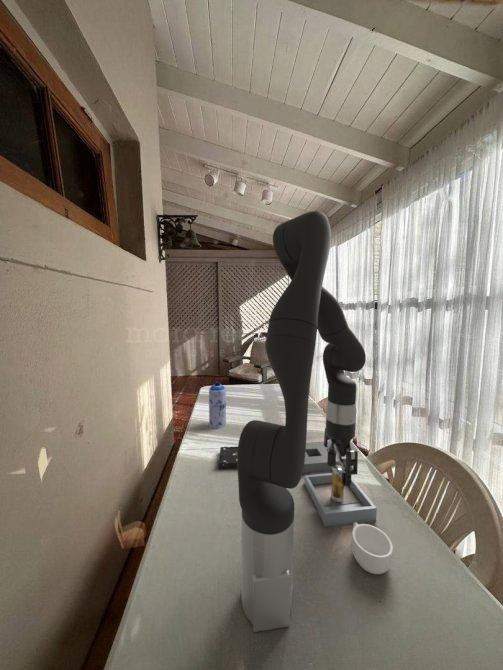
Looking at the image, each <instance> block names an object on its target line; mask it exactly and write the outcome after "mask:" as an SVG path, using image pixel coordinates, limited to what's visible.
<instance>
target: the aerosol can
mask: <svg viewBox="0 0 503 670" xmlns="http://www.w3.org/2000/svg"><path fill="white" fill-rule="evenodd" d="M208 389H209V390H208V412H209V413H208V415H209V416H208V420H209V423H208V425H209V426H208V427H209V428H211V429H215V430H221V429H223V428H225V427H226V426H227V411H226V410H227V397H226V396H227V395H226V394H227V393H226V392H227V390H226V387H225V386H224V385H222V384H221V382H220V381H219V380H218V381H215V382H214V384H213V385H211V386H210V387H209V388H208Z"/></svg>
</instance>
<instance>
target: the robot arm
mask: <svg viewBox="0 0 503 670" xmlns="http://www.w3.org/2000/svg"><path fill="white" fill-rule="evenodd" d="M331 242H332V230H331V225H330V221H329V219H328V217H327V216H326V215H325V213H323V212H322V211H320V210H311V211H308V212H305V213H302V214H300V215H298V216H296V217H293V218H291V219H289V220H287V221H285V222H282V223H281V224H278V225H277V226H276V227H275V229H274V230H273V234H272V244H273V245H272V246H273V248H274V252H275V254H276V256H277V258H278V260H279V262H280V264H281V266H282V267H283V269H284V271H285V272H286V274H287V275H288V277H289V278H290V280H291V281H290V282H289V284H288V285H287V287H286V288H285V290H284V291H283V293H282V294H281V296H280V297H279V299H278V300H277V302H276V304H275V305H274V306H273V309H272V310H271V313H270V317H269V320H268V325H267V332H266V337H265V345H264V346H265V352H266V357H267V359H268V362H269V364H270V367H271V369H272V371H273V373H274V376H275V378H276V380H277V382H278V385H279V387H280V390H281V393H282V397H283V402H284V410H285V411H284V412H285V413H284V414H285V425H282V424H278V423H273V422H268V421H264V420H258V419H256V420H255V419H254V420H250V421H249V422H247V423H246V424H245V425H244V427H243V428H242V431H241V433H240V436H239V439H238V444H237V447H238V451H237V469H236V470H237V481H238V482H237V483H238V502H239V506H240V509H241V555H240V556H241V557H240V559H241V562H240V563H241V565H240V566H241V569H240V570H241V571H240V572H241V575H240V576H241V579H240V580H241V581H240V582H241V586H240V587H241V590H240V593H241V594H240V595H241V600H240V601H241V607H242V610H243V613H244V615H245V617H246V618H247V619H248V621H249V622H250V623H251V625H252V630H253V631H252V632H254V633H257V632H263V631H269V630H275V629H282V628H286V627H290V624H291V622H290V621H291V619H290V618H291V611H292V605H293V571H294V568H293V567H294V533H295V531H294V529H295V501H294V497H293V495H292V493H291V492H290V491H289V490H290V489H291V490H292V489H295V488H296V487H297V486H298V485H299V484H300V481H301V479H302V477H303V474H304V473H303V468H304V462H305V451H306V444H307V435H308V433H307V431H308V430H307V429H308V414H309V413H308V411H309V398H310V396H309V395H310V389H311V388H310V385H311V378H312V371H313V363H314V358H315V350H316V344H317V343H316V341H317V333H318V334H319V336H320V338H321V339H322V341H323V342H325V343H327V344H326V346H325V347H324V349H323V352H322V362H323V363H322V364H323V368H324V372H325V378H326V380H327V386H328V387H327V389H328V390H327V402H326V403H327V404H326V408H325V428H324V436H323V437H324V438H323V442H324V446H325V447H327V448H326V450H327V452H328V458H327V464H328V465H329V466H334V465H336V454H337V458H338V462H339V463H341V467H342V485H343V486H344V487H350V485H351V477H352V475H358V465H359V463H358V462H359V459H358V457H359V454H358V453H359V452H358V450H357V449H352V446H351V441H352V440H353V439H354V438H355V436H356V429H357V428H356V427H357V404H356V403H357V384H356V381H354V380H353V379H351V378H350V377H348V376H347V375H346V374H345V372H348V373H355V372H356V373H357V372H359V371H361V370H362V369H363V368H364V366H365V364H366V359H367V358H366V356H367V355H366V351H365V349H364V347H363V344H362V343H361V341H359V339H358V337H356V334H355V333H354V332H353V330H352V329H350V327H349V325H348V322H347V319H346V316H345V313H344V309H343V308H342V306H341V303H340V302H339V300H338V299H337V298H336V297H335V296H334V295H333V294H332V293H331V291H329V290H328V289H327V288H325V287H324V286H323V283H324V279H325V274H326V269H327V265H328V260H329V255H330V252H331V251H330V250H331V244H332V243H331ZM327 442H328V443H327ZM341 457H344V458H345V459H342V458H341ZM345 462H346V468H345V464H344V463H345ZM288 489H289V490H288Z"/></svg>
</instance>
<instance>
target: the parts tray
mask: <svg viewBox="0 0 503 670" xmlns="http://www.w3.org/2000/svg"><path fill="white" fill-rule="evenodd" d="M303 484H304V485H305V488H306V489H307V492H308V493H309V496H310V497H311V500H312V501H313V503H314V505H315V507H314V508H315V511H316V513H317V515H318V517H319V519H320V520H321V523H322V525H323V527H324V528H326V527H327V528H329V527H336V526H343V525H353V524H354V523H357V524H364V523H369V522H376V521H377V512H378V511H377V510H378V508H377V506H376V504H374V503H373V501H372V500H371V499H370V498H369V497H368V495H367V494H366V493H365V491H363V489H362V488H361V487H360V485H359V484H358V483H357V482H356V480H355V479H354V478H353V476H351V485H350V486H349V487H350V489H351V490H352V491H353V493H354V494H355V496H356V497H357V498H358V499H359V500H360V502H359V501H358V502H350V503H349V502H348V503H339V504H333V505H332V504H331V505H324V503H323V501H322V499H321V497H320V495H319V494H318V492H317V491H316V488H315V486H314V485H323V484H324V485H325V484H332V472H331V473H330V472H329V473H318V474H316V473H315V474H305V475H304V482H303Z"/></svg>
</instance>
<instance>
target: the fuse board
mask: <svg viewBox="0 0 503 670" xmlns="http://www.w3.org/2000/svg"><path fill="white" fill-rule="evenodd" d="M328 442H329V441H327V443H328ZM326 448H327V447H325V446H324V441H322V442H310V443H307V442H306V451H305V462H304V468H303V473H302V474H308V473H309V474H311V473H321V472H332V467H333V466H329V465H328V464H327V458H328V452H327V450H326ZM341 458H342V459H346V457H341ZM344 464H345V468H346V462H345V463H344ZM336 465H340V466H341V463H339V462H338V458H337V454H336Z"/></svg>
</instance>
